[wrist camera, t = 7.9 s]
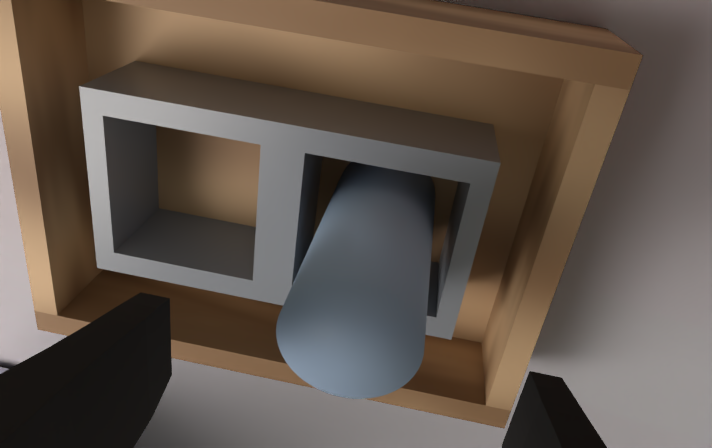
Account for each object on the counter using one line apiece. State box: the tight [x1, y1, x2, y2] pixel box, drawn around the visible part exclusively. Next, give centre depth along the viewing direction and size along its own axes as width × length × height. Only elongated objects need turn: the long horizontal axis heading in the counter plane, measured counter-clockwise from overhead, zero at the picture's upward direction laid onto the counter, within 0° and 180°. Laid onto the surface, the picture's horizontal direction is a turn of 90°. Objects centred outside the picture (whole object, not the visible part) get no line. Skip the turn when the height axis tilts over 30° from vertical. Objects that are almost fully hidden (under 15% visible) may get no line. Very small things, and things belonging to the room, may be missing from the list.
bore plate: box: [79, 61, 501, 340], centre depth 18 cm, size 6×11×3 cm, turn 82°
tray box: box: [0, 0, 643, 428], centre depth 18 cm, size 12×16×4 cm
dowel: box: [276, 162, 435, 399], centre depth 16 cm, size 3×3×8 cm
